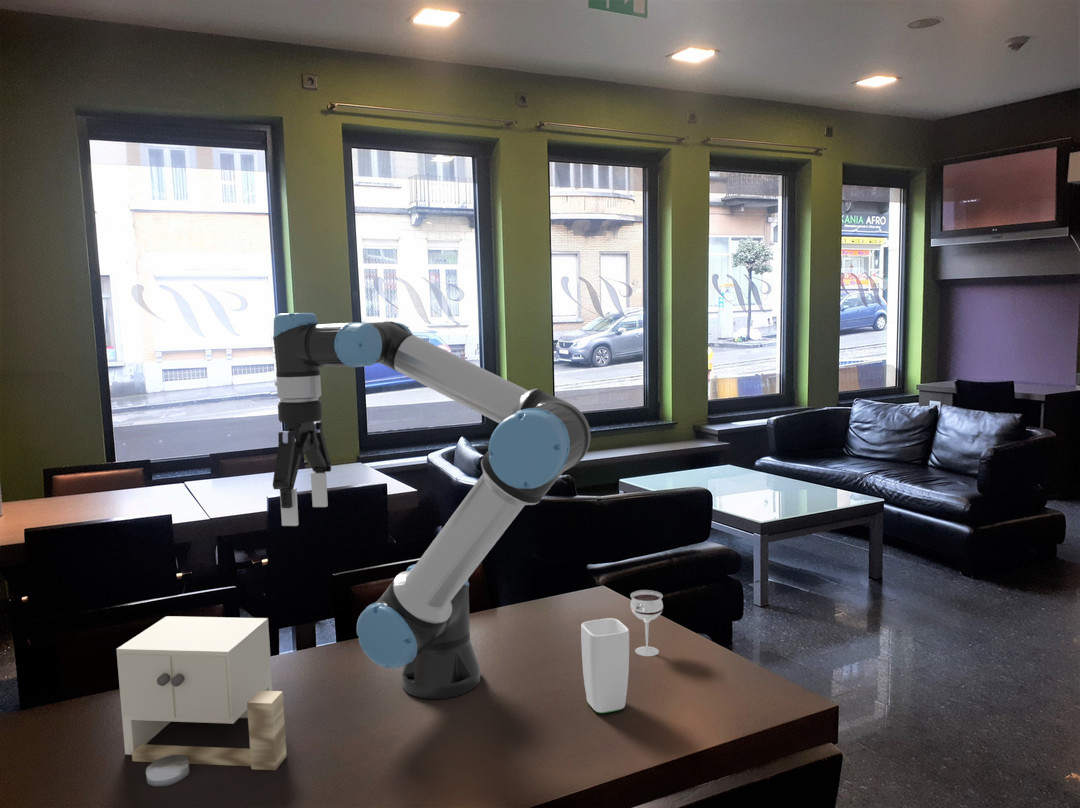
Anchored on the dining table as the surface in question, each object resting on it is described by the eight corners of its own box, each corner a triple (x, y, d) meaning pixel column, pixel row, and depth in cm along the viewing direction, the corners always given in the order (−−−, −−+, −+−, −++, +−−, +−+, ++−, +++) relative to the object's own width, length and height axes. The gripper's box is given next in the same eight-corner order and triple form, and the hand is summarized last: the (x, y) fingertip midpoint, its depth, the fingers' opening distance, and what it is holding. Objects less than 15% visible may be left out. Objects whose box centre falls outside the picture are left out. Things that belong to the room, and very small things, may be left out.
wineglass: (640, 641, 169) (639, 587, 167) (669, 649, 165) (668, 593, 163) (624, 653, 163) (624, 597, 162) (653, 660, 159) (653, 603, 158)
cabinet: (273, 715, 140) (267, 618, 138) (231, 764, 125) (223, 655, 123) (173, 711, 142) (166, 616, 141) (119, 759, 127) (110, 652, 125)
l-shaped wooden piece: (286, 756, 127) (282, 691, 126) (275, 770, 123) (271, 703, 122) (144, 750, 130) (139, 686, 129) (129, 763, 126) (123, 698, 125)
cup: (632, 712, 139) (632, 631, 137) (594, 719, 136) (593, 637, 135) (616, 694, 146) (615, 616, 144) (579, 700, 143) (578, 622, 142)
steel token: (197, 766, 125) (196, 755, 125) (174, 788, 119) (173, 777, 119) (162, 764, 126) (161, 754, 126) (138, 786, 120) (137, 775, 120)
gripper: (307, 393, 153) (312, 499, 156) (246, 407, 129) (254, 534, 131) (344, 392, 153) (349, 499, 155) (290, 407, 128) (297, 534, 130)
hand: (306, 515), depth 143 cm, fingers open, 13 cm apart
